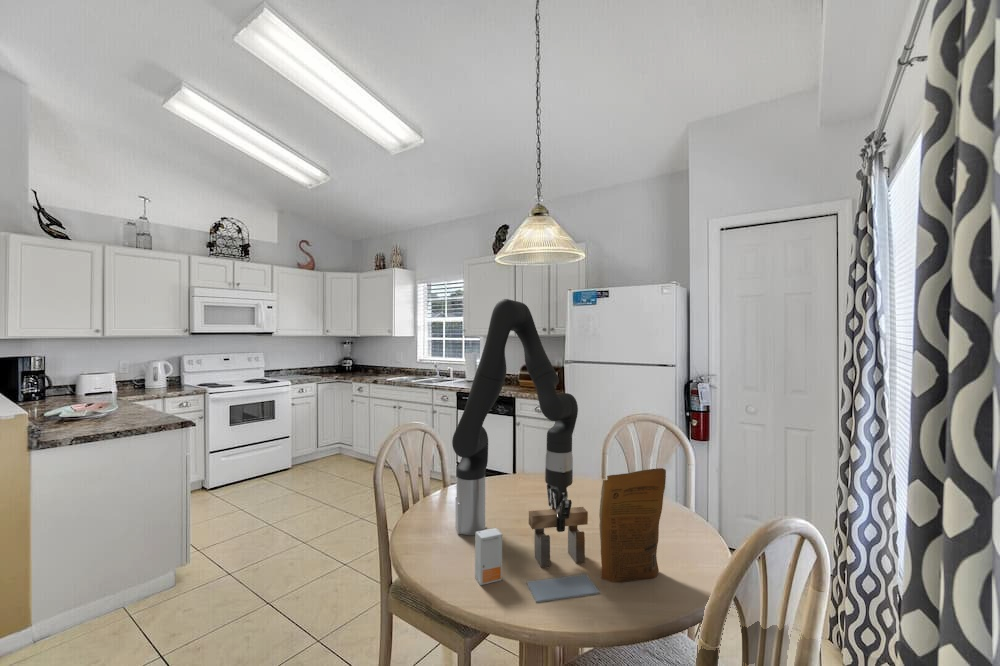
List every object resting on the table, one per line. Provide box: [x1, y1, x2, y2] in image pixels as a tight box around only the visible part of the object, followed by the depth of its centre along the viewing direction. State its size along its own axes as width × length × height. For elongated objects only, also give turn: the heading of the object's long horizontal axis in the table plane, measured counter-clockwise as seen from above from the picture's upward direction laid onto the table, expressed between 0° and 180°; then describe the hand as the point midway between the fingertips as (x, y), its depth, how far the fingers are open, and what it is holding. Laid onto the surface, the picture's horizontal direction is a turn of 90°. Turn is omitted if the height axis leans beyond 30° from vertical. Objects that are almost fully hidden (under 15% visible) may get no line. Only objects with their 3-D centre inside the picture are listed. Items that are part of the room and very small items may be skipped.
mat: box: [526, 573, 601, 603], centre depth 109 cm, size 16×8×1 cm, turn 103°
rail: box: [528, 506, 589, 530], centre depth 122 cm, size 16×4×4 cm, turn 102°
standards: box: [534, 525, 586, 569], centre depth 122 cm, size 12×6×8 cm, turn 103°
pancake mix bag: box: [598, 467, 667, 583], centre depth 114 cm, size 7×19×28 cm, turn 101°
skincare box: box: [474, 527, 503, 586], centre depth 113 cm, size 6×4×12 cm
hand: (558, 527), depth 122 cm, fingers closed on rail, 3 cm apart
